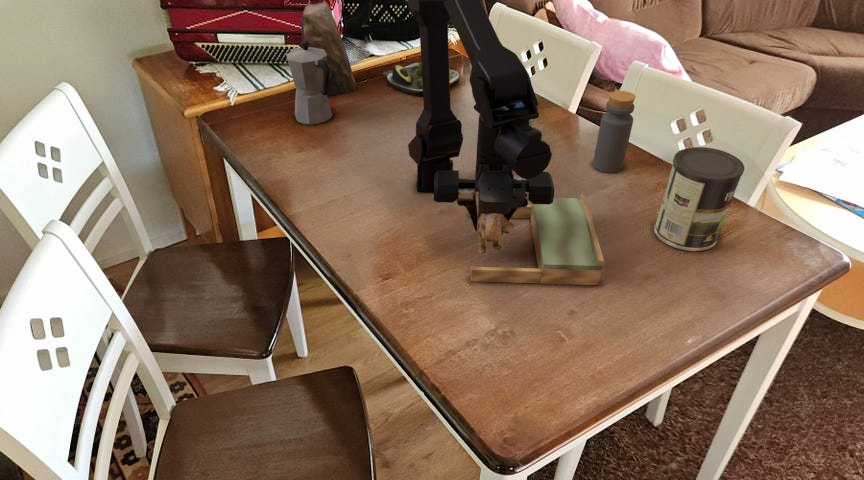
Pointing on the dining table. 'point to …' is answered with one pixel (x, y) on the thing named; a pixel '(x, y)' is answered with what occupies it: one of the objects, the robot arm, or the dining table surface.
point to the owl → (328, 46)
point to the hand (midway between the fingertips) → (488, 229)
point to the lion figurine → (491, 229)
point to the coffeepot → (310, 84)
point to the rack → (555, 246)
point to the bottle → (614, 132)
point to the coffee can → (697, 198)
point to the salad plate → (411, 78)
